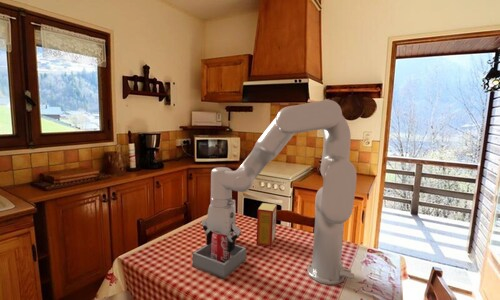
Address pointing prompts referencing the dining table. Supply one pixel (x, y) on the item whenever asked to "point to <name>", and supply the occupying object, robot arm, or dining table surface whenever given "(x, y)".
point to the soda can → (220, 247)
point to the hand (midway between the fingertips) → (220, 247)
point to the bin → (217, 268)
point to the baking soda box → (266, 224)
